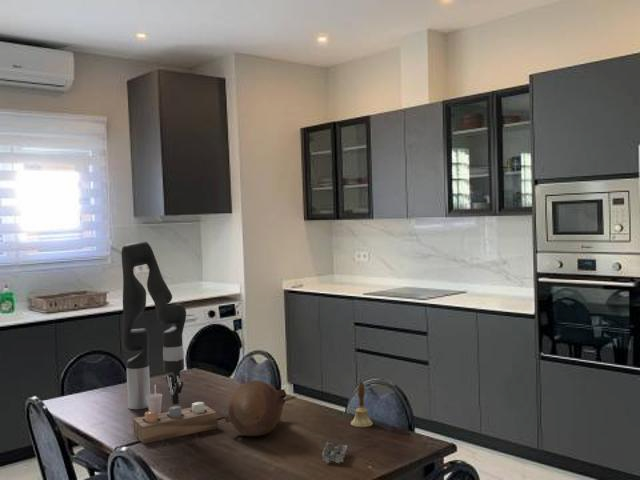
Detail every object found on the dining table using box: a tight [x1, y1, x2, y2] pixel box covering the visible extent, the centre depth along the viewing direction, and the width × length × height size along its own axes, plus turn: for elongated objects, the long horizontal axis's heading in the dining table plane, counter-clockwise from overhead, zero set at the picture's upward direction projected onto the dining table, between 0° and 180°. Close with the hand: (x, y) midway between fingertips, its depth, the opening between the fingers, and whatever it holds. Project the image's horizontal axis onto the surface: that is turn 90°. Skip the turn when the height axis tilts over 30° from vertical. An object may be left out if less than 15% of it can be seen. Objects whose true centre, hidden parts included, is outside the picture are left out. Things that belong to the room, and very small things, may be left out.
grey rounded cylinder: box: [168, 405, 183, 418], centre depth 237 cm, size 5×5×6 cm
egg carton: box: [321, 440, 348, 464], centre depth 206 cm, size 10×7×4 cm
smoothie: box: [146, 384, 163, 414], centre depth 252 cm, size 6×6×14 cm
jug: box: [224, 380, 287, 437], centre depth 236 cm, size 20×20×30 cm
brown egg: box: [144, 410, 158, 423], centre depth 233 cm, size 5×5×6 cm
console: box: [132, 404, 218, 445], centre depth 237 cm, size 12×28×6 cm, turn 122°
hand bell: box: [350, 381, 373, 428], centre depth 239 cm, size 8×8×16 cm
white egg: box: [191, 401, 205, 414], centre depth 242 cm, size 5×5×6 cm
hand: (175, 403), depth 237 cm, fingers closed
